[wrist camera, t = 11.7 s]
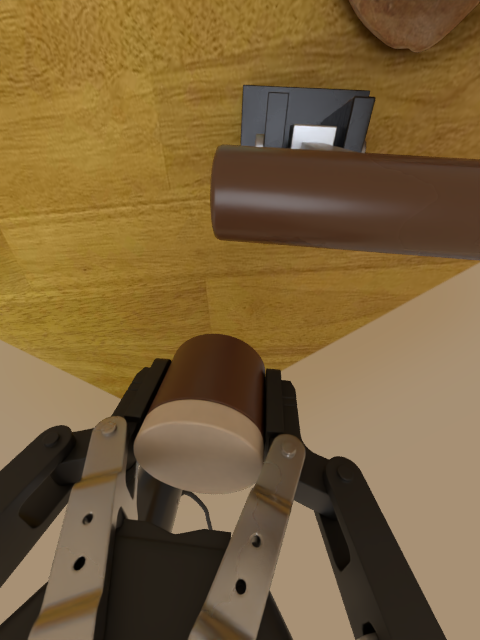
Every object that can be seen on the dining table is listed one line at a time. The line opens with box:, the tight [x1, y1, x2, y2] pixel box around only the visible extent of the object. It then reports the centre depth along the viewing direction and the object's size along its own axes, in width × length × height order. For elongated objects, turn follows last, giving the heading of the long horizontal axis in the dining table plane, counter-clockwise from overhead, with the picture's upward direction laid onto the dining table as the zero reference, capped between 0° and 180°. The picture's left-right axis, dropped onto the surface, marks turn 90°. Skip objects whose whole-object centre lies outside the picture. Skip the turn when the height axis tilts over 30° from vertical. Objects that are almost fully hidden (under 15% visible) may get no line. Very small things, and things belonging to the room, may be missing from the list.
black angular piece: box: [241, 85, 375, 153], centre depth 17 cm, size 8×9×10 cm
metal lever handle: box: [210, 124, 480, 260], centre depth 10 cm, size 15×6×2 cm
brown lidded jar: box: [134, 334, 265, 494], centre depth 12 cm, size 5×5×5 cm
